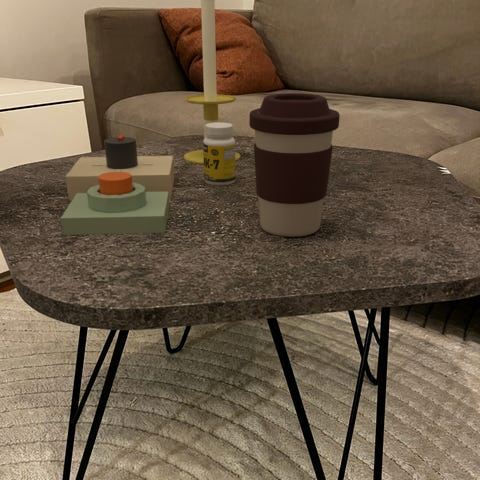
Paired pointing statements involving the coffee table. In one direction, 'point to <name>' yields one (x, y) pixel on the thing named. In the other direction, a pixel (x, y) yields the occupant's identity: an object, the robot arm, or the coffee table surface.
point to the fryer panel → (145, 173)
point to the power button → (115, 183)
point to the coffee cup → (292, 161)
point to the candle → (208, 78)
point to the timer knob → (121, 152)
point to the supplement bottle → (219, 154)
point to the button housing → (116, 212)
